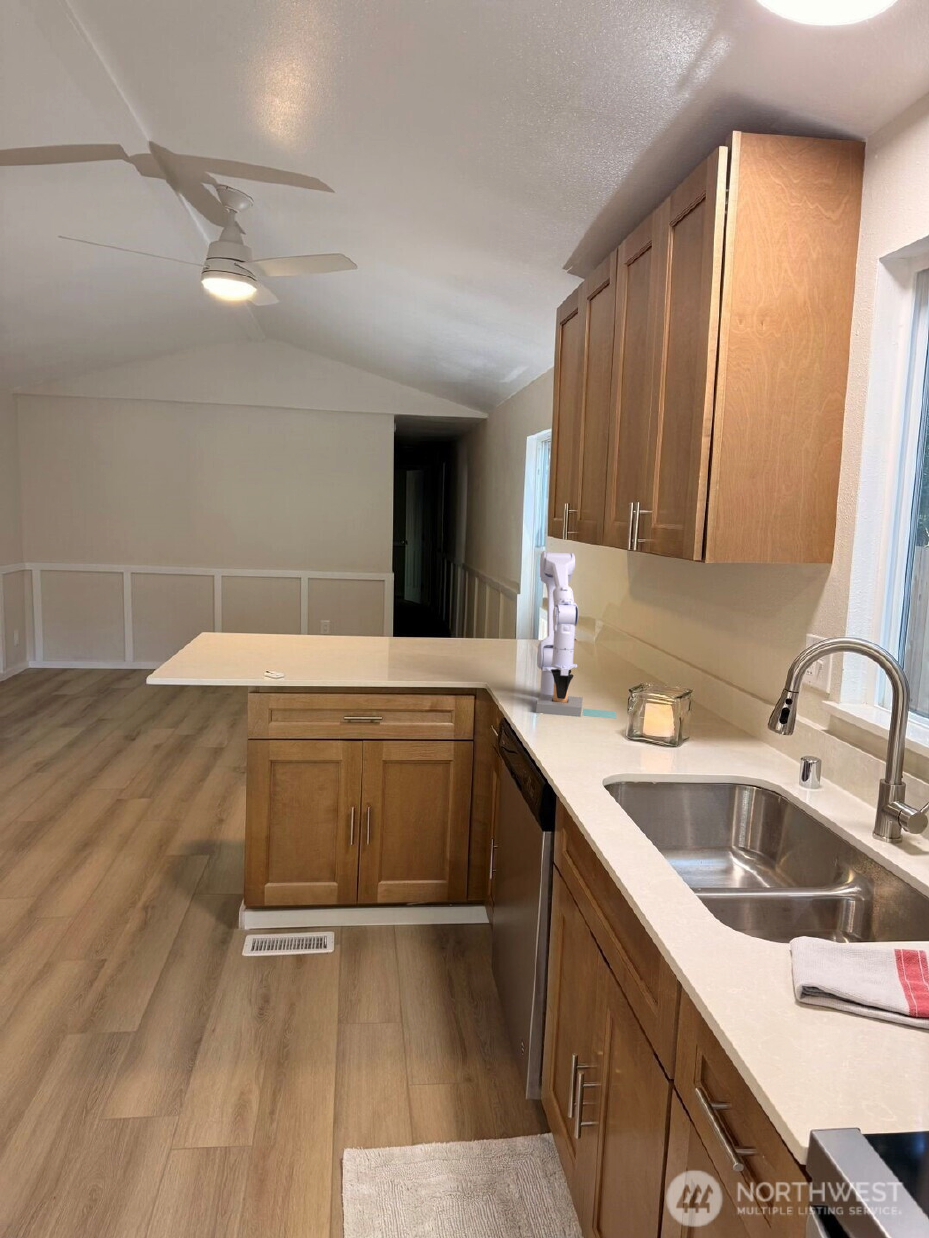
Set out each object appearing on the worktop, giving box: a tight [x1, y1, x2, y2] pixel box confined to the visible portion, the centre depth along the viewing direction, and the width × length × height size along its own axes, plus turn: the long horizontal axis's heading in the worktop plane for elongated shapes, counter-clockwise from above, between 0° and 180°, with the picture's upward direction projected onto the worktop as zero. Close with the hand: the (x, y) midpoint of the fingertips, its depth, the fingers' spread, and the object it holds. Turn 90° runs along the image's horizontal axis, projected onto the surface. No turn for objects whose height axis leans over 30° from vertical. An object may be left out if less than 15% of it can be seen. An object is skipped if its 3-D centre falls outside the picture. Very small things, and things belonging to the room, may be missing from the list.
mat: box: [582, 708, 617, 719], centre depth 233 cm, size 9×9×1 cm
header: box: [535, 693, 583, 718], centre depth 236 cm, size 14×12×3 cm
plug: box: [553, 683, 569, 703], centre depth 235 cm, size 4×4×7 cm
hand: (560, 696), depth 235 cm, fingers closed on plug, 4 cm apart
